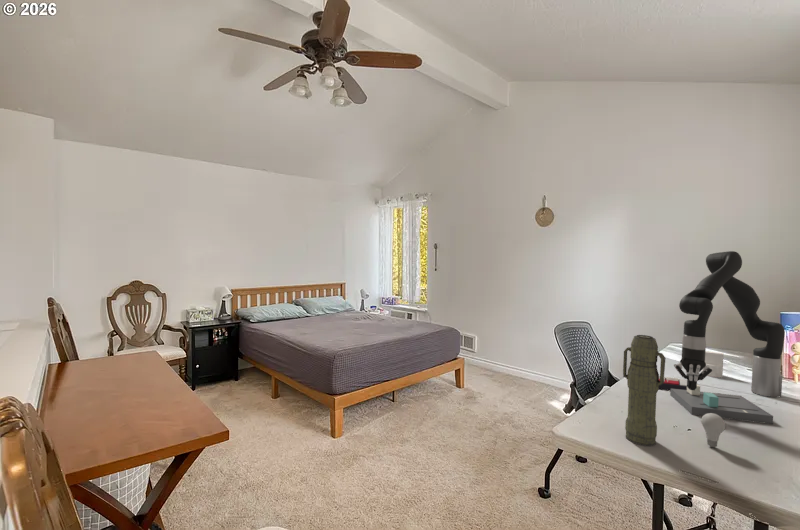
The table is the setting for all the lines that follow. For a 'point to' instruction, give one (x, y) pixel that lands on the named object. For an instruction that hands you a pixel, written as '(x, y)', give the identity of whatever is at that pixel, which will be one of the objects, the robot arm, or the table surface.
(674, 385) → the calculator
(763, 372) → the robot arm
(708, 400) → the fader teal
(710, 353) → the white cylinder
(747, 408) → the console
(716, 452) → the table surface
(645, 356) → the thermos
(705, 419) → the lightbulb
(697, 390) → the block
